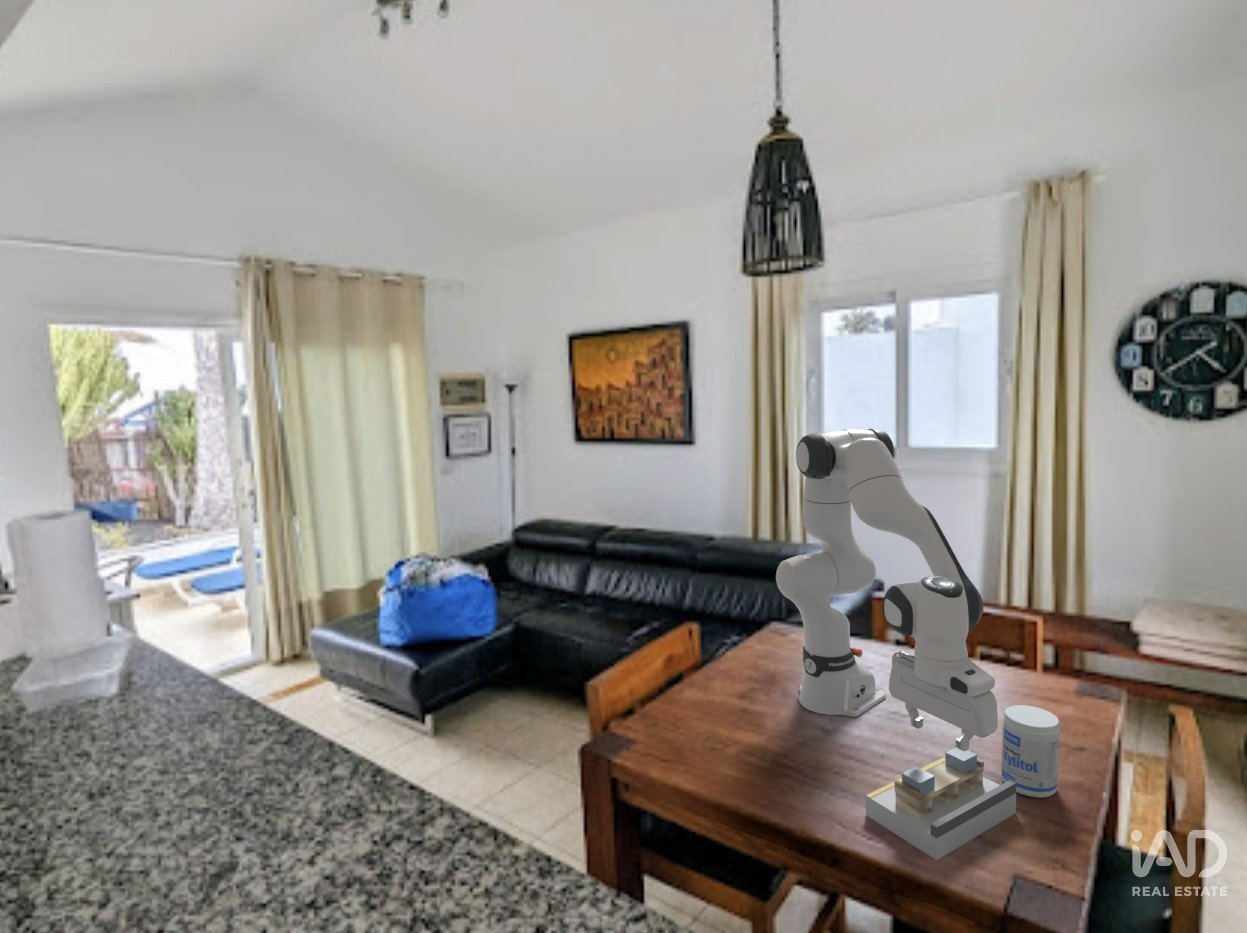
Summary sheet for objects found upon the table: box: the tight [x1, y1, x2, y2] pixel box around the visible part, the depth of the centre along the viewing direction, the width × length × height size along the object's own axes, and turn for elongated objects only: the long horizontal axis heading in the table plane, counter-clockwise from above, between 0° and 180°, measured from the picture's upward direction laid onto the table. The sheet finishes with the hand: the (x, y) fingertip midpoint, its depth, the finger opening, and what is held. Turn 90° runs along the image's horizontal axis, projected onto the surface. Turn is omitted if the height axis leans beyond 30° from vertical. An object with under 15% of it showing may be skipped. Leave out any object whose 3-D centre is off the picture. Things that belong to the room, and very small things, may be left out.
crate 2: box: [944, 747, 978, 774], centre depth 131 cm, size 4×4×2 cm
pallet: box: [894, 757, 985, 818], centre depth 129 cm, size 19×5×4 cm, turn 120°
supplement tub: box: [1000, 704, 1061, 799], centre depth 136 cm, size 10×10×15 cm
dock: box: [865, 757, 1017, 861], centre depth 129 cm, size 23×15×6 cm, turn 120°
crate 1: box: [901, 766, 935, 796], centre depth 125 cm, size 4×4×2 cm
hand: (938, 737), depth 128 cm, fingers open, 8 cm apart
